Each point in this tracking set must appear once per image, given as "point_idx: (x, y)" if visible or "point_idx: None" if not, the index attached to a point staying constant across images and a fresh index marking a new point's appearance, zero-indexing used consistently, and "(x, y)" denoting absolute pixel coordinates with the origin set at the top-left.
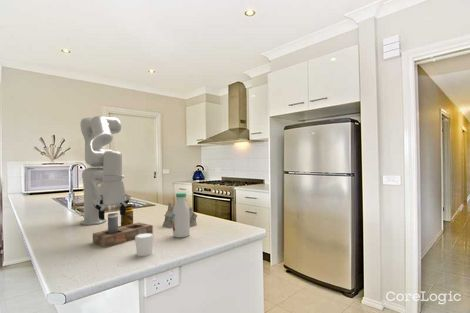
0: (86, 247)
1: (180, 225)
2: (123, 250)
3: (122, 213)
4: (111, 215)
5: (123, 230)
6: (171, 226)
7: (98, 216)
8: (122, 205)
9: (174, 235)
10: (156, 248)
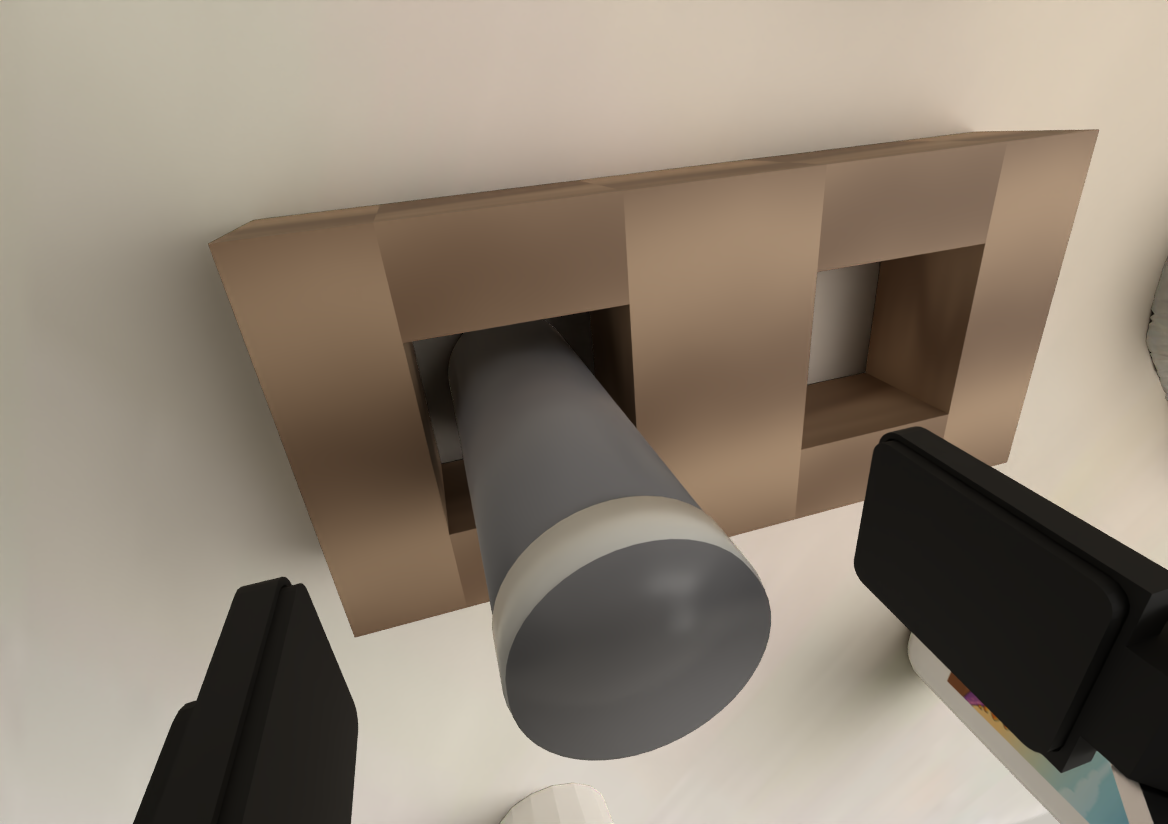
0: (127, 387)
1: (1001, 762)
2: (466, 706)
3: (889, 561)
4: (557, 744)
5: (680, 443)
6: (1164, 353)
7: (173, 726)
8: (1140, 745)
9: (918, 644)
10: (663, 773)
